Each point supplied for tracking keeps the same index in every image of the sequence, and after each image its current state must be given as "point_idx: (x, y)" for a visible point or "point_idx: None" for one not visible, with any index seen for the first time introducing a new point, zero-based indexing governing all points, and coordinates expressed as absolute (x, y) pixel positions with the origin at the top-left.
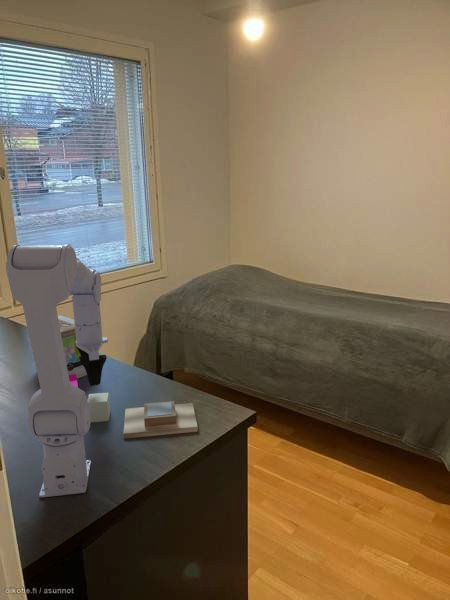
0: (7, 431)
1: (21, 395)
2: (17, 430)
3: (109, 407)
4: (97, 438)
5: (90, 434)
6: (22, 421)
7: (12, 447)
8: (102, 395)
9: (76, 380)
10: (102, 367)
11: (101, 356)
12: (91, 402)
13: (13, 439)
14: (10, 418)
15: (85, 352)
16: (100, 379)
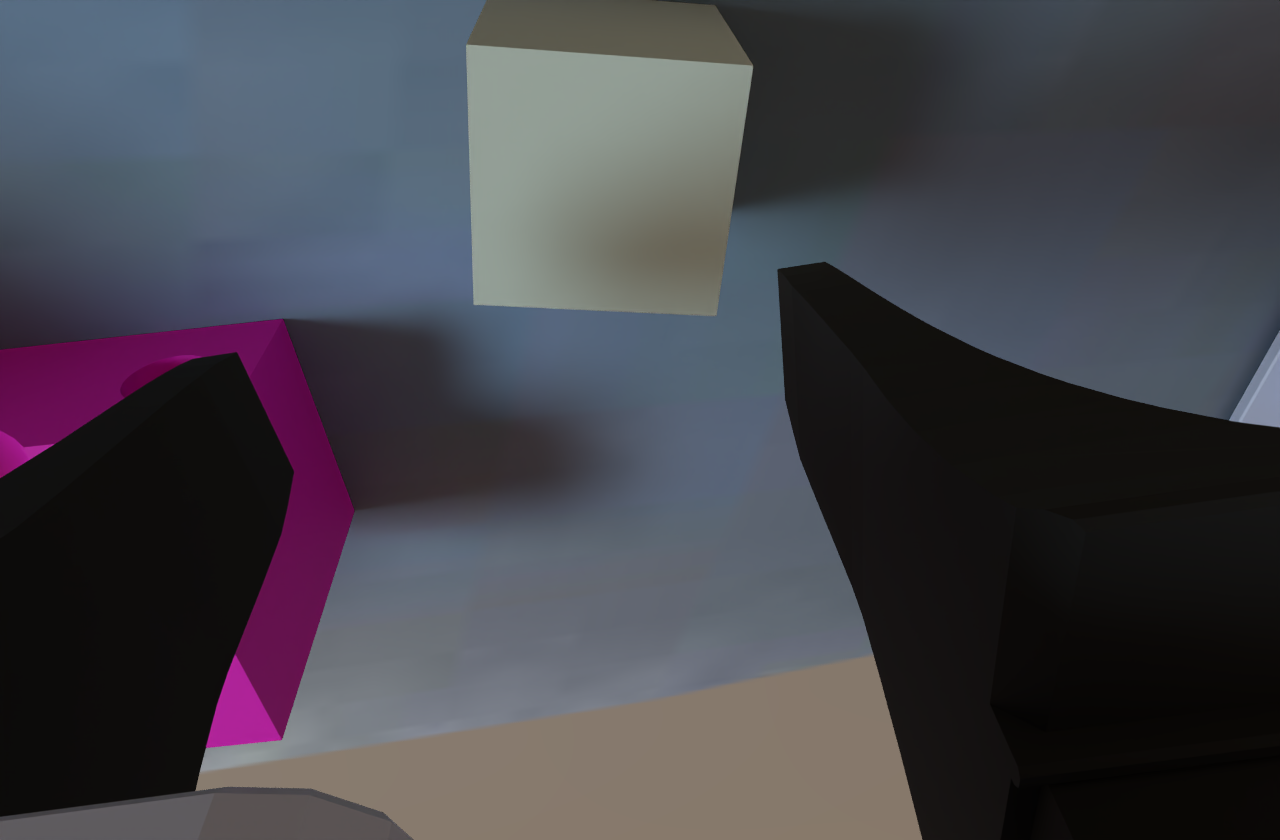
0: (654, 692)
1: None
2: (659, 652)
3: (521, 2)
4: (1019, 121)
5: (918, 187)
6: (541, 647)
7: (862, 641)
8: (549, 134)
9: (28, 452)
10: (1086, 392)
11: (1219, 638)
12: (719, 266)
13: (767, 651)
14: (484, 707)
15: (123, 798)
16: (862, 288)
